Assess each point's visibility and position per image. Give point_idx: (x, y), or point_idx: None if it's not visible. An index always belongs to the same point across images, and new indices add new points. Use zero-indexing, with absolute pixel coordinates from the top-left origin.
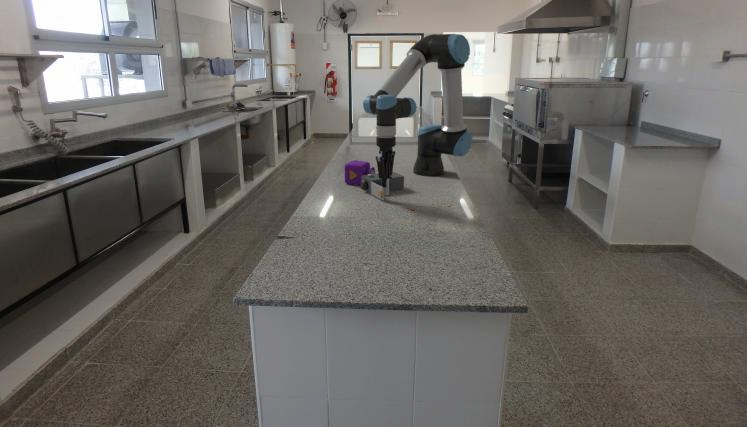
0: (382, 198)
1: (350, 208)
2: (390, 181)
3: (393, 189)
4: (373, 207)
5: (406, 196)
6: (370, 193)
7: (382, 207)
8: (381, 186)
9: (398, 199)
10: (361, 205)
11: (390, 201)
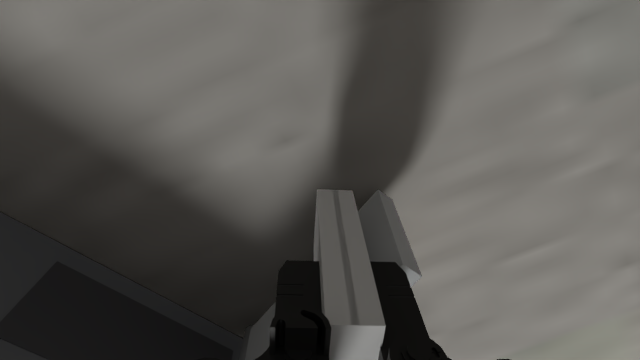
0: (394, 209)
1: (637, 317)
2: (3, 324)
3: (27, 242)
4: (582, 192)
5: (102, 49)
6: (241, 346)
7: (566, 124)
8: (133, 339)
9: (253, 87)
10: (548, 286)
11: (355, 132)
